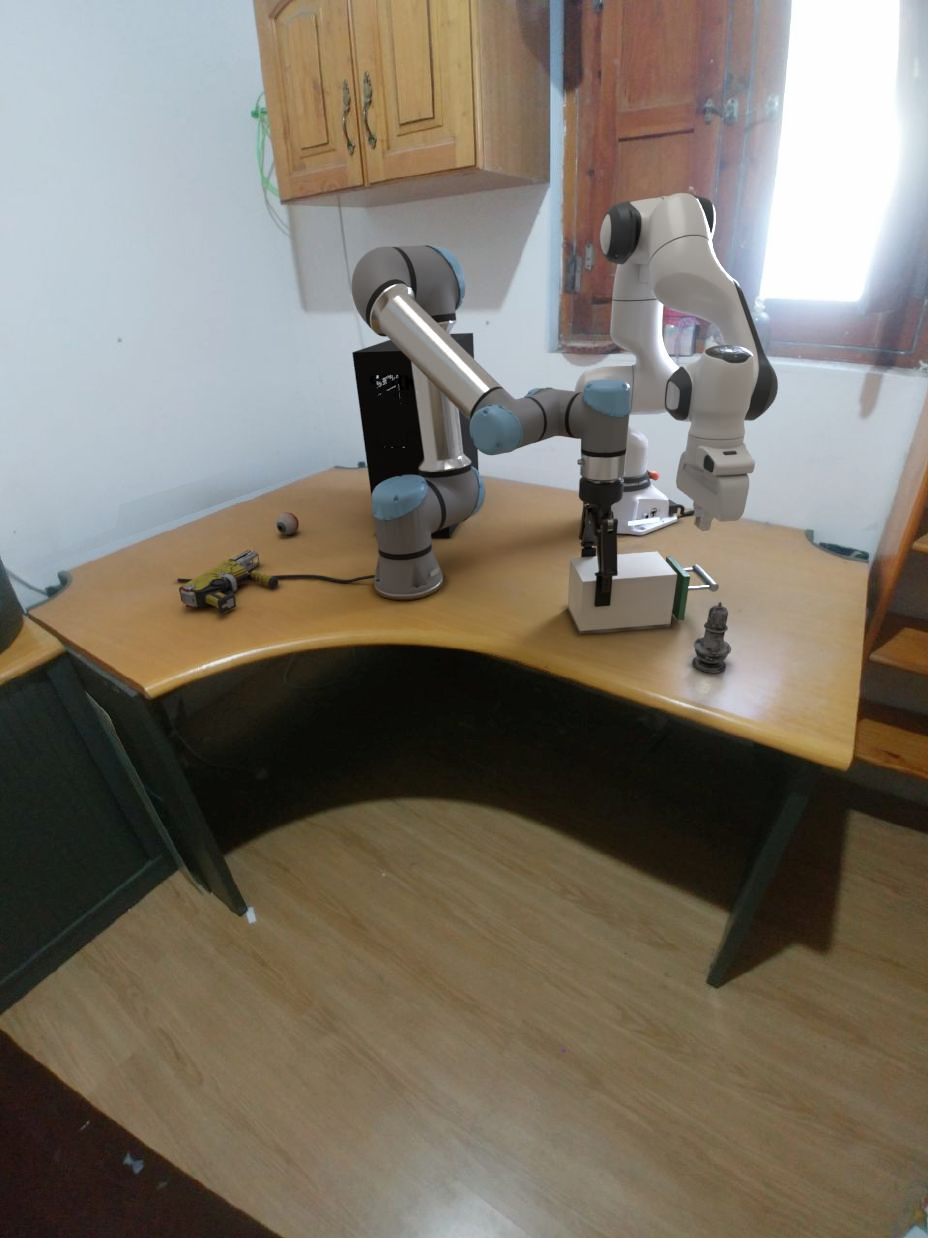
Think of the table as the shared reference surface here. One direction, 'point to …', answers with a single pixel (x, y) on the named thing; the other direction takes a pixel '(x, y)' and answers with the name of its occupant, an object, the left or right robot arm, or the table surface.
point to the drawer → (687, 585)
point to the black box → (397, 414)
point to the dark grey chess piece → (713, 642)
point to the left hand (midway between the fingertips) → (594, 591)
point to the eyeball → (287, 523)
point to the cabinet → (623, 594)
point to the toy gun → (223, 583)
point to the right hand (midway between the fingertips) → (701, 527)
